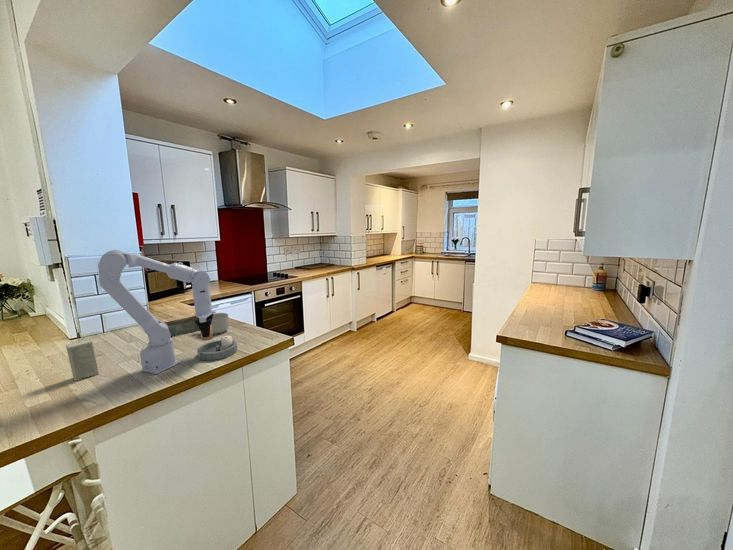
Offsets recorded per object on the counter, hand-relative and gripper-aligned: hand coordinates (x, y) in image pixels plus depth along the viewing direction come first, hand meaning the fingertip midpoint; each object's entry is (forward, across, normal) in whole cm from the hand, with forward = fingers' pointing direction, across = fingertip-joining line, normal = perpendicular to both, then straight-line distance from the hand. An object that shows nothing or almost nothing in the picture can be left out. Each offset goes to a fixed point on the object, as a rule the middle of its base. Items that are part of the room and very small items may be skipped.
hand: (206, 334), depth 114 cm
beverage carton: (+8, +36, +14) cm, 40 cm away
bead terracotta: (+2, 0, 0) cm, 2 cm away
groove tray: (+8, 0, -3) cm, 9 cm away
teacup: (+8, +28, 0) cm, 29 cm away
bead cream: (+7, 0, -7) cm, 10 cm away
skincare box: (+8, 0, +38) cm, 39 cm away
